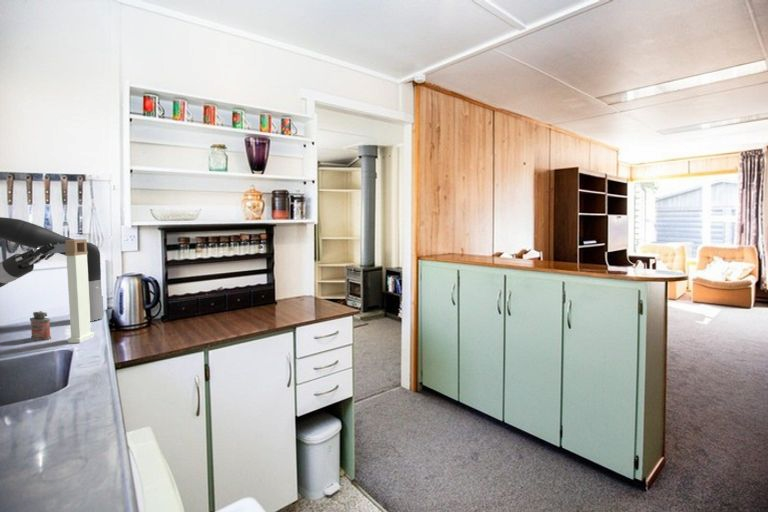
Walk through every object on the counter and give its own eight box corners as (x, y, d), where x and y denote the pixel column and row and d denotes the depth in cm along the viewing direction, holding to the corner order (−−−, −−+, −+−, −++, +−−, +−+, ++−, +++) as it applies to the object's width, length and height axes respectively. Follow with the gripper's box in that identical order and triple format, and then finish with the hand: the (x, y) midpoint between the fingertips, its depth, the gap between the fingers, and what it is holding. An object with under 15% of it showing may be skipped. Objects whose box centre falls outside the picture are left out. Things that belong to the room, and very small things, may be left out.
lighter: (28, 338, 147) (26, 311, 146) (38, 336, 150) (37, 309, 149) (43, 341, 145) (41, 313, 144) (53, 338, 148) (52, 311, 147)
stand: (83, 336, 151) (78, 239, 148) (94, 336, 152) (89, 239, 148) (67, 342, 143) (61, 240, 140) (79, 342, 144) (74, 240, 140)
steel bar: (45, 254, 145) (44, 245, 145) (77, 250, 146) (75, 242, 145) (39, 254, 142) (37, 246, 142) (71, 251, 143) (69, 243, 142)
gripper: (-12, 261, 136) (33, 237, 136) (22, 257, 150) (63, 235, 150) (1, 281, 137) (46, 256, 137) (34, 274, 151) (75, 252, 151)
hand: (55, 245), depth 144 cm, fingers closed on steel bar, 3 cm apart
